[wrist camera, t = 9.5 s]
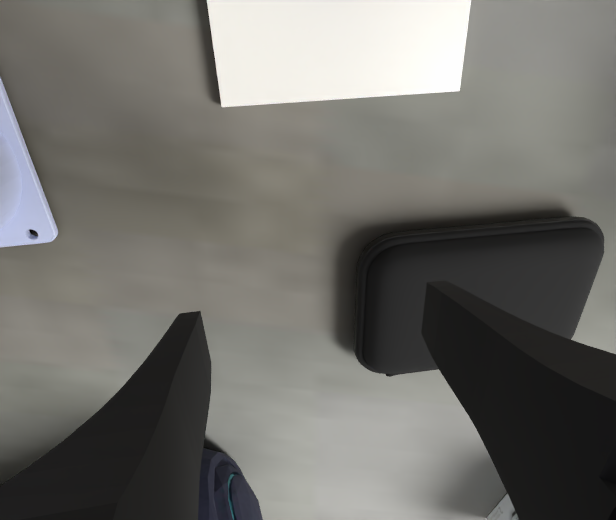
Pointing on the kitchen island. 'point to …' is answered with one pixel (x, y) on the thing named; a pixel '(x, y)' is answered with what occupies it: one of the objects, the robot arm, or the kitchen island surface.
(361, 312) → the carrying case or bag
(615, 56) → the kitchen island surface
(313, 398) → the kitchen island surface
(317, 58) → the mat
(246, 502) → the portable speaker
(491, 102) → the kitchen island surface
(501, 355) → the robot arm
